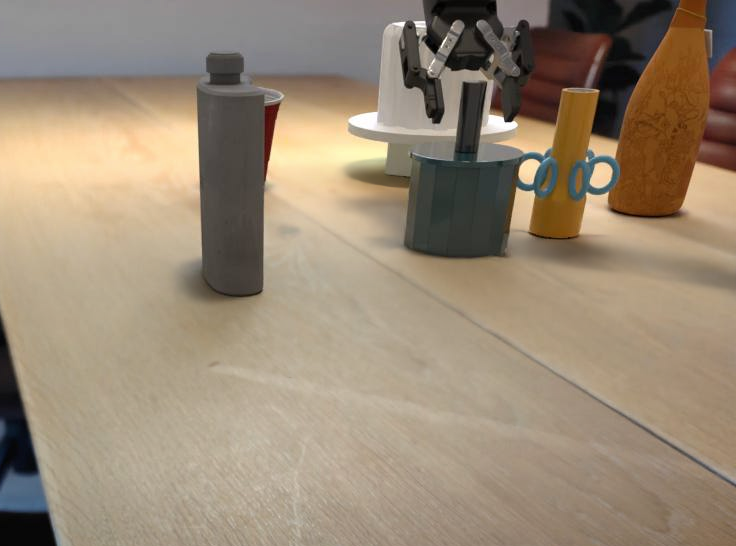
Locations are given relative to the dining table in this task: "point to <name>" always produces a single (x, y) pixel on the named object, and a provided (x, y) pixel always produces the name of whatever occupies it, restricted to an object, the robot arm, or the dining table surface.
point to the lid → (468, 138)
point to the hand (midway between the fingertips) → (475, 117)
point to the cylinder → (567, 168)
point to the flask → (231, 175)
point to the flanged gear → (419, 107)
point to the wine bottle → (665, 119)
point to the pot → (460, 210)
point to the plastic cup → (270, 122)
